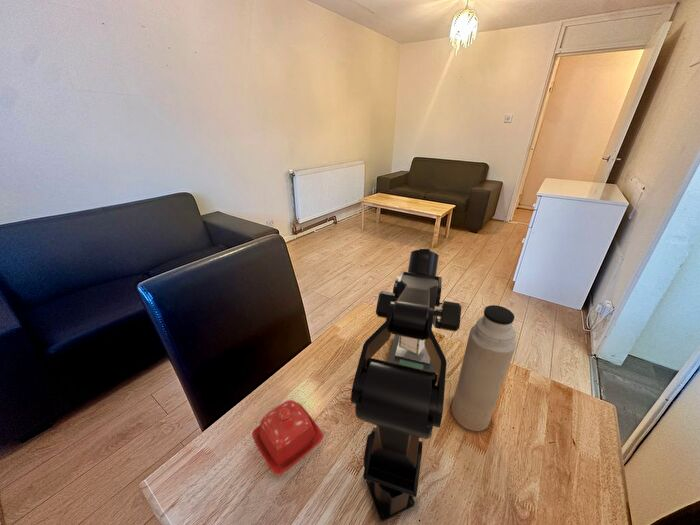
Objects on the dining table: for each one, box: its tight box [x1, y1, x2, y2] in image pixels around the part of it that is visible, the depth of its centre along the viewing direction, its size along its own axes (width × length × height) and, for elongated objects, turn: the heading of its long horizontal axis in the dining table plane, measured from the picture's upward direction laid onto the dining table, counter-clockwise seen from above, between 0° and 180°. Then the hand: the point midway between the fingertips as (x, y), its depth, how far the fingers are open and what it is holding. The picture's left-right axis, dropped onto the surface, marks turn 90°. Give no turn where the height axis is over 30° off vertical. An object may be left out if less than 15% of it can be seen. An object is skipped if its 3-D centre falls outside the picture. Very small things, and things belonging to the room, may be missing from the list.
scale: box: [387, 335, 436, 373], centre depth 78 cm, size 12×12×3 cm
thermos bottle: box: [451, 304, 517, 432], centre depth 57 cm, size 8×8×28 cm
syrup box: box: [399, 336, 425, 355], centre depth 73 cm, size 6×6×14 cm
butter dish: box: [251, 399, 325, 477], centre depth 57 cm, size 12×12×8 cm
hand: (417, 316), depth 74 cm, fingers closed on syrup box, 7 cm apart
